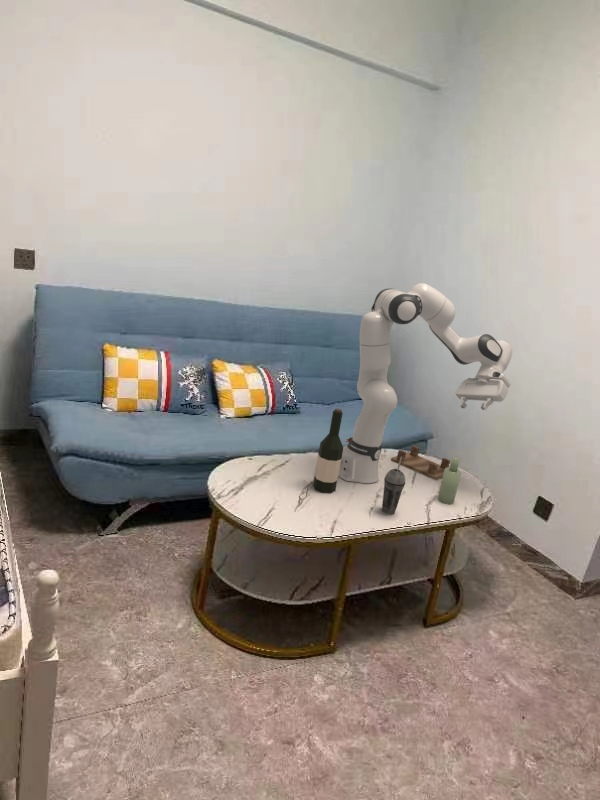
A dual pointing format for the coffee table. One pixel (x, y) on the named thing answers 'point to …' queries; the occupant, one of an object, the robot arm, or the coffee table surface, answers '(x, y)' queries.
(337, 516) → the coffee table surface
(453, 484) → the olive glass bottle
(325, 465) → the wine bottle
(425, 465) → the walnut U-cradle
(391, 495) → the beverage cup
